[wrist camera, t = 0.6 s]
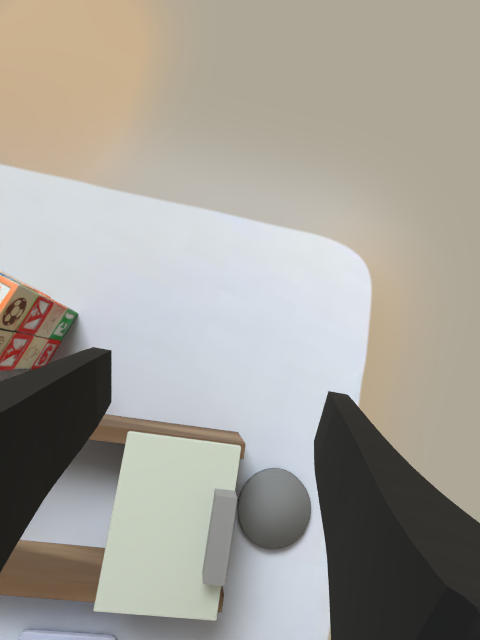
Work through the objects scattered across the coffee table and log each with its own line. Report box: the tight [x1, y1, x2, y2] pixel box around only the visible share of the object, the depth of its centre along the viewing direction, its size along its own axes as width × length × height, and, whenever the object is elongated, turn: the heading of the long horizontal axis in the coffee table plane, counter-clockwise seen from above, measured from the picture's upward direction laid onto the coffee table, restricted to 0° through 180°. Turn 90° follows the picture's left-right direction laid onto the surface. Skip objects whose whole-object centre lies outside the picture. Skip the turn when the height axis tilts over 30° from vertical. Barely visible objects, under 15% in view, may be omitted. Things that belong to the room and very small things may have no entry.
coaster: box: [238, 468, 311, 549], centre depth 34 cm, size 7×7×1 cm
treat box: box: [0, 414, 245, 612], centre depth 30 cm, size 13×22×5 cm, turn 81°
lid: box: [94, 431, 241, 621], centre depth 26 cm, size 13×9×2 cm
